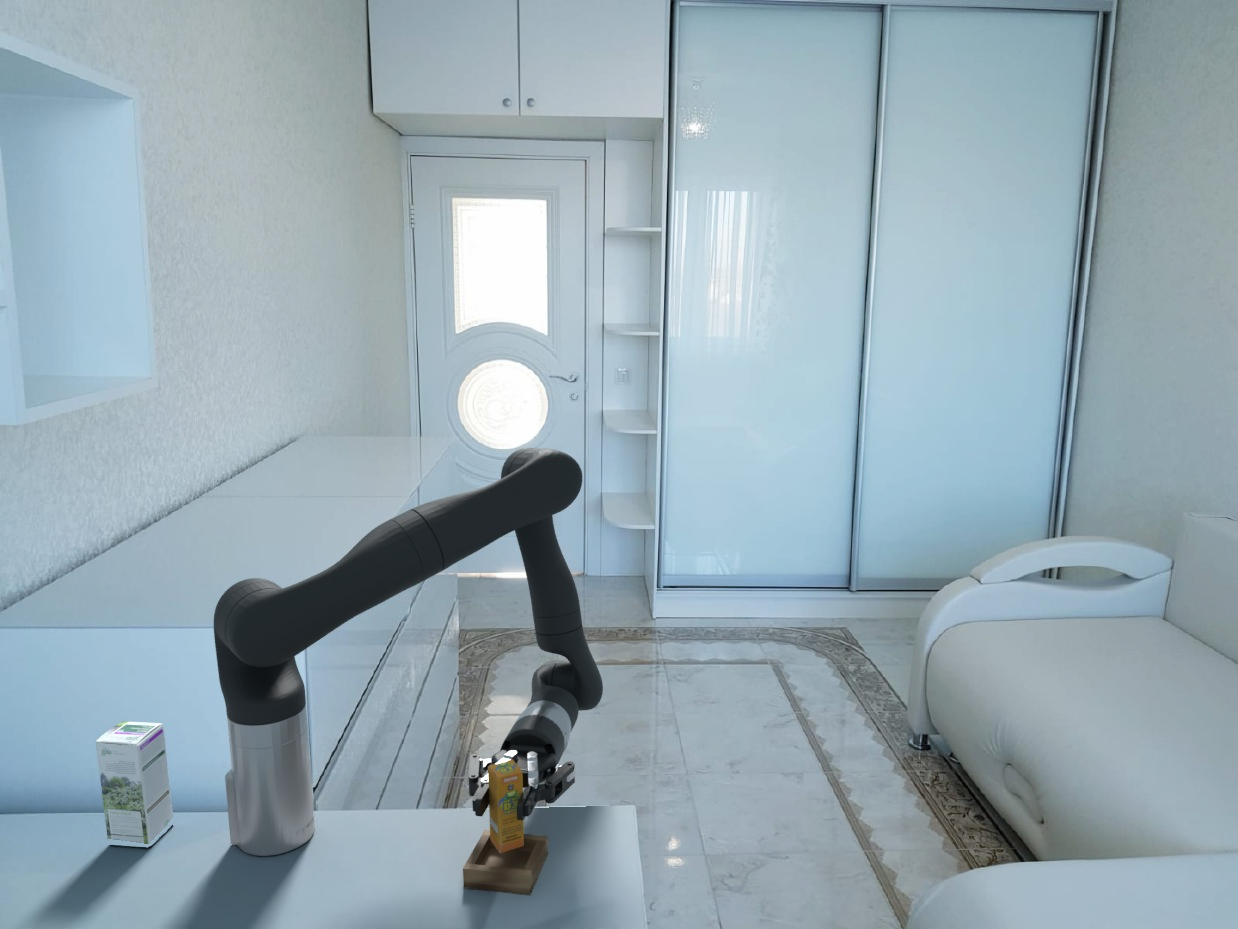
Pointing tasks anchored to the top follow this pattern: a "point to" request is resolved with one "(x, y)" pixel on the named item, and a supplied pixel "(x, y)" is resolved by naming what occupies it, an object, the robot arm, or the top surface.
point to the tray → (505, 865)
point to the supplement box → (505, 805)
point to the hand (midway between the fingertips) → (499, 811)
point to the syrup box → (134, 781)
